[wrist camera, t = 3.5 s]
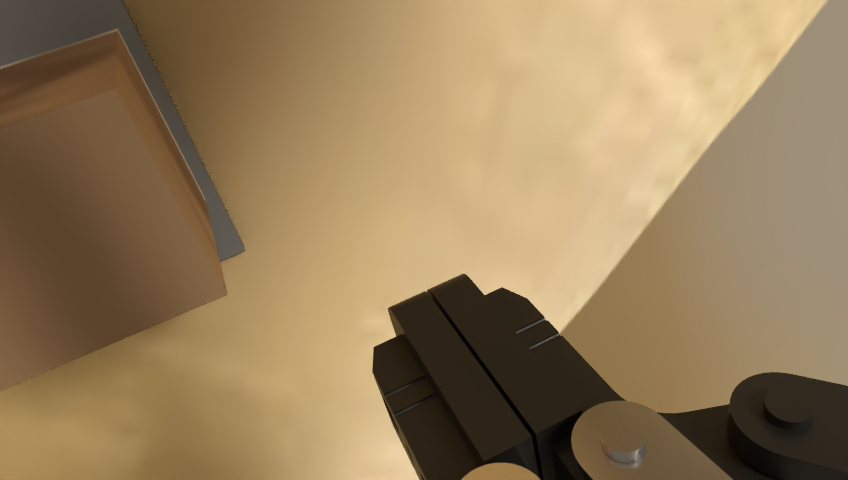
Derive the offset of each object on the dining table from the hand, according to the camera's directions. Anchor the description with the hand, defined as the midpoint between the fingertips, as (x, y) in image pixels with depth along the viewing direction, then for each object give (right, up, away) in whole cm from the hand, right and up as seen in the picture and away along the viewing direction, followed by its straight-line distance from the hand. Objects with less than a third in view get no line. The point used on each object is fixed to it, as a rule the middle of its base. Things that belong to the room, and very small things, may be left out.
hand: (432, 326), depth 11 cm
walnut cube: (-13, +5, +11) cm, 18 cm away
